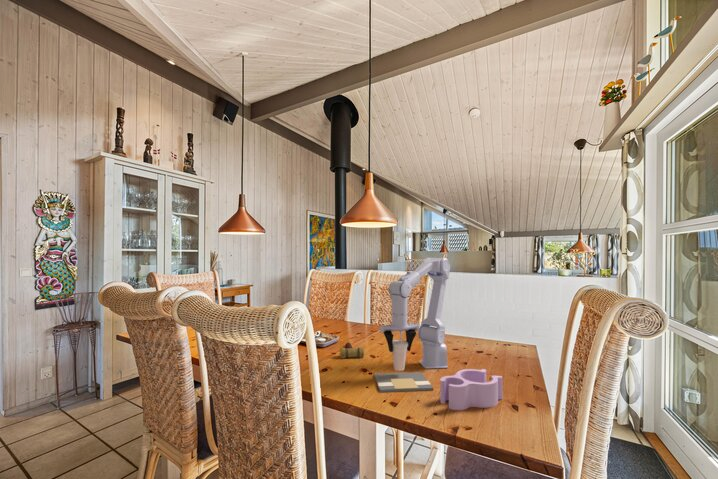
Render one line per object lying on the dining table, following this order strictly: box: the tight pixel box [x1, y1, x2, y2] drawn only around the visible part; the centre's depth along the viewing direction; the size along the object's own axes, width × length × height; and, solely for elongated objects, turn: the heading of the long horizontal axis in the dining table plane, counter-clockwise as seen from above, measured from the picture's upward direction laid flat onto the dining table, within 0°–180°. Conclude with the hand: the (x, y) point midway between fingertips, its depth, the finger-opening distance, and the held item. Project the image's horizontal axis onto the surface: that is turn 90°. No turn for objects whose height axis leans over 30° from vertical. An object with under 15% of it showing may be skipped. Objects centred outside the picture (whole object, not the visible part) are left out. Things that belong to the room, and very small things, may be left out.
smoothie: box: [391, 331, 408, 372], centre depth 117 cm, size 6×6×14 cm
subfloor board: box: [373, 371, 434, 393], centre depth 112 cm, size 18×14×1 cm
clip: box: [439, 368, 504, 411], centre depth 100 cm, size 20×12×7 cm, turn 115°
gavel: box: [339, 341, 365, 359], centre depth 148 cm, size 21×5×10 cm
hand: (399, 350), depth 116 cm, fingers closed on smoothie, 6 cm apart
